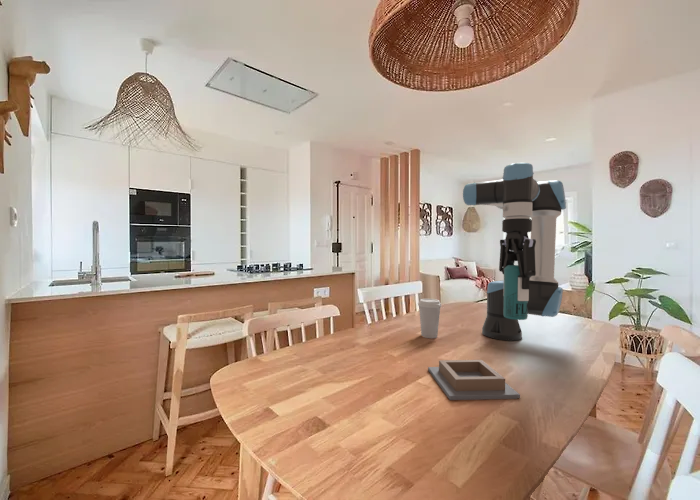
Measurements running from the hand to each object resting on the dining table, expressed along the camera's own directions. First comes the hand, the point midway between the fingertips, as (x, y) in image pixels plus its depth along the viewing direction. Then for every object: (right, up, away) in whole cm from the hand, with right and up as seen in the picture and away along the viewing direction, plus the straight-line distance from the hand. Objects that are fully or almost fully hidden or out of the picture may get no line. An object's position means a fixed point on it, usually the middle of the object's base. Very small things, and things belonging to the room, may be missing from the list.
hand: (515, 298), depth 90 cm
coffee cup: (-15, -22, +40) cm, 48 cm away
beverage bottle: (0, -7, 0) cm, 7 cm away
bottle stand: (-14, -23, -3) cm, 27 cm away
